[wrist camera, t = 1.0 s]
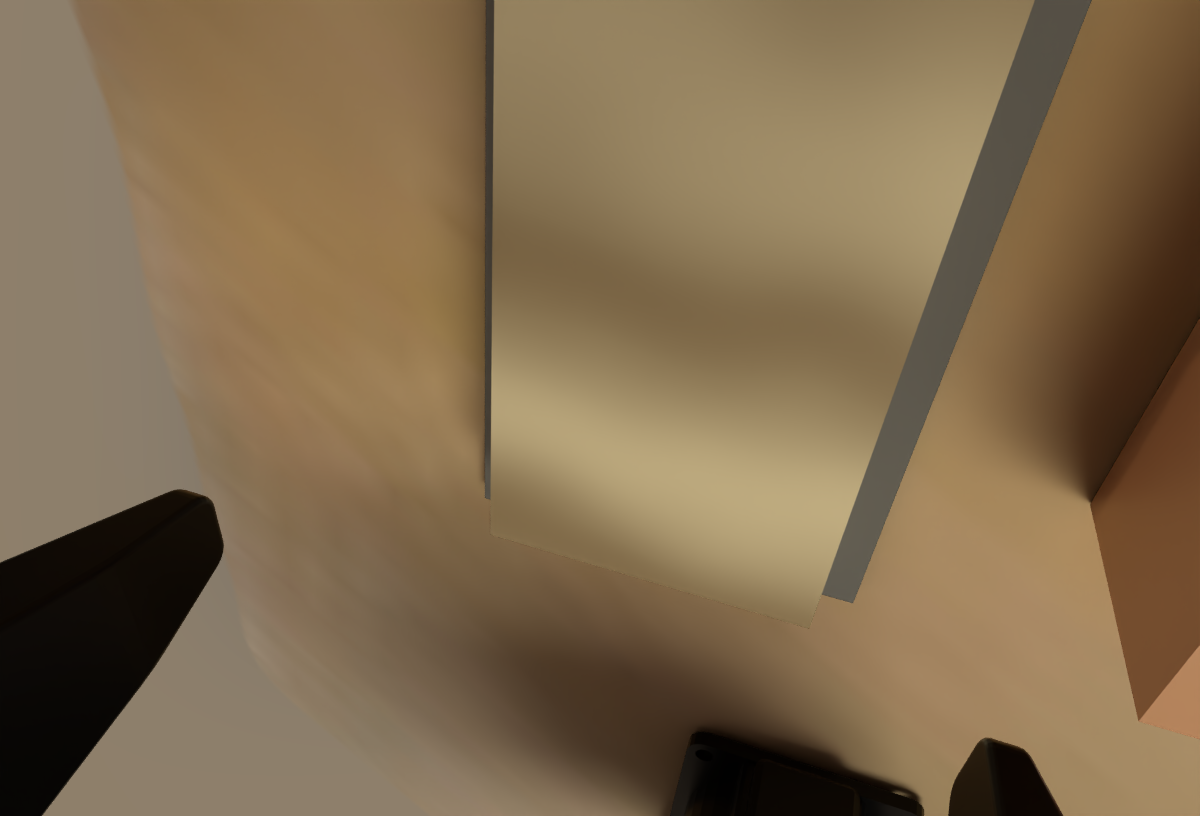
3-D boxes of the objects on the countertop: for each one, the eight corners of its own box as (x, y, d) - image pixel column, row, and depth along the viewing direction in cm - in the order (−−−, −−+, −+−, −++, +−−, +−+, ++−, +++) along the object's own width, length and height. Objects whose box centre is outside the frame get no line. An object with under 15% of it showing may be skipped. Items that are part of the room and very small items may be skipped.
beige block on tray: (819, 560, 19) (809, 628, 17) (524, 478, 20) (490, 534, 19) (1026, -42, 12) (1040, -17, 10) (546, -108, 13) (495, -95, 12)
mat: (854, 590, 20) (852, 603, 19) (491, 487, 21) (484, 498, 21) (1133, -120, 11) (1138, -118, 11) (497, -195, 13) (486, -194, 13)
